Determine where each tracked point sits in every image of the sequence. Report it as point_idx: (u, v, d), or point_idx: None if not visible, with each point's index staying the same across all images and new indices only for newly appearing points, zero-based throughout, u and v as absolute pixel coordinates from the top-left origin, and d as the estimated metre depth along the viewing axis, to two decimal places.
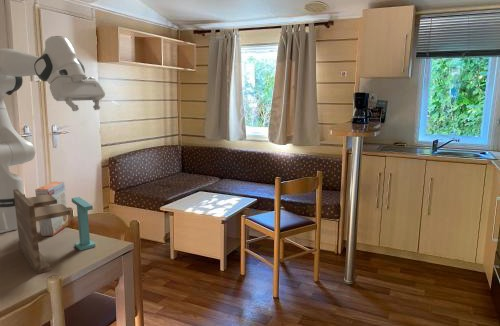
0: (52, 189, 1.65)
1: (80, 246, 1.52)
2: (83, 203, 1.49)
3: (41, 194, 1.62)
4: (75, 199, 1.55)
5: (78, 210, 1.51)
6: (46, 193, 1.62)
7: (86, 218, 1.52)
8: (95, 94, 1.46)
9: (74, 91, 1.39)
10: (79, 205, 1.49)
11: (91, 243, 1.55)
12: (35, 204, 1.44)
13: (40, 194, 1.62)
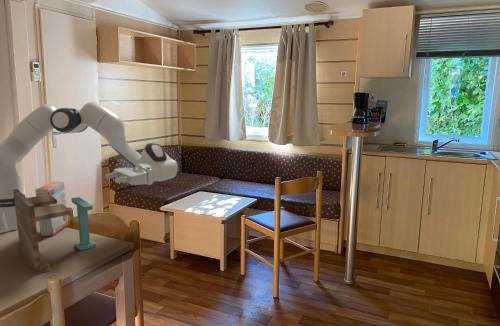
0: (52, 189, 1.65)
1: (80, 246, 1.52)
2: (83, 203, 1.49)
3: (41, 194, 1.62)
4: (75, 199, 1.55)
5: (78, 210, 1.51)
6: (46, 193, 1.62)
7: (86, 218, 1.52)
8: None
9: None
10: (79, 205, 1.49)
11: (91, 243, 1.55)
12: (35, 204, 1.44)
13: (40, 194, 1.62)
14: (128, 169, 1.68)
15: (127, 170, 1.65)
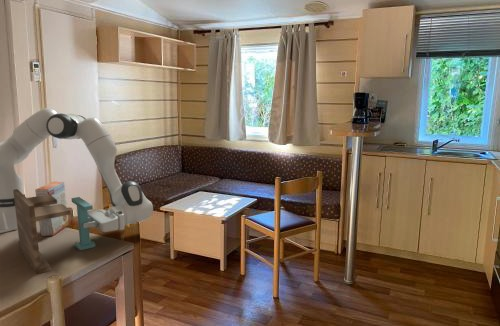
0: (52, 189, 1.65)
1: (80, 246, 1.52)
2: (83, 203, 1.49)
3: (41, 194, 1.62)
4: (75, 199, 1.55)
5: (78, 210, 1.51)
6: (46, 193, 1.62)
7: (86, 218, 1.52)
8: None
9: None
10: (79, 205, 1.49)
11: (91, 243, 1.55)
12: (35, 204, 1.44)
13: (40, 194, 1.62)
14: (100, 212, 1.63)
15: (99, 213, 1.60)
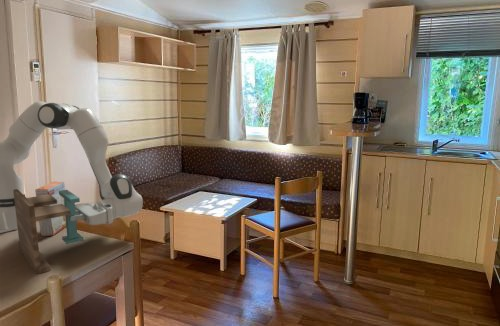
0: (52, 189, 1.65)
1: (67, 240, 1.49)
2: (70, 195, 1.46)
3: (41, 194, 1.62)
4: (62, 192, 1.51)
5: (65, 203, 1.48)
6: (46, 193, 1.62)
7: (73, 211, 1.49)
8: None
9: None
10: (66, 197, 1.46)
11: (79, 237, 1.51)
12: (35, 204, 1.44)
13: (40, 194, 1.62)
14: (89, 205, 1.60)
15: (87, 207, 1.56)
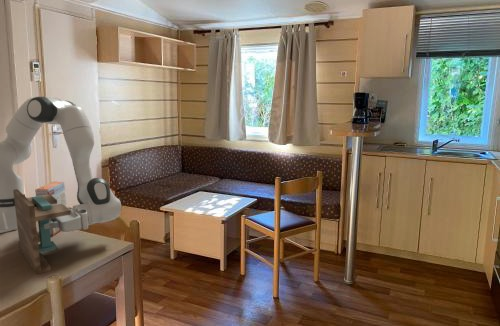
0: (52, 189, 1.65)
1: (40, 248, 1.42)
2: (42, 202, 1.40)
3: (41, 194, 1.62)
4: (35, 198, 1.45)
5: None
6: (46, 193, 1.62)
7: None
8: None
9: None
10: (38, 204, 1.40)
11: (52, 245, 1.45)
12: (35, 204, 1.44)
13: (40, 194, 1.62)
14: None
15: None
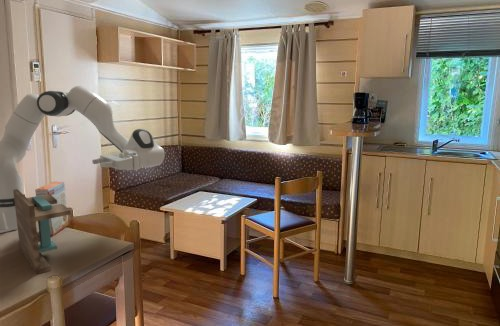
0: (52, 189, 1.65)
1: (40, 248, 1.42)
2: (42, 202, 1.40)
3: (41, 194, 1.62)
4: (35, 198, 1.45)
5: None
6: (46, 193, 1.62)
7: None
8: None
9: None
10: (38, 204, 1.40)
11: (52, 245, 1.45)
12: (35, 204, 1.44)
13: (40, 194, 1.62)
14: (115, 155, 1.69)
15: (113, 156, 1.65)
